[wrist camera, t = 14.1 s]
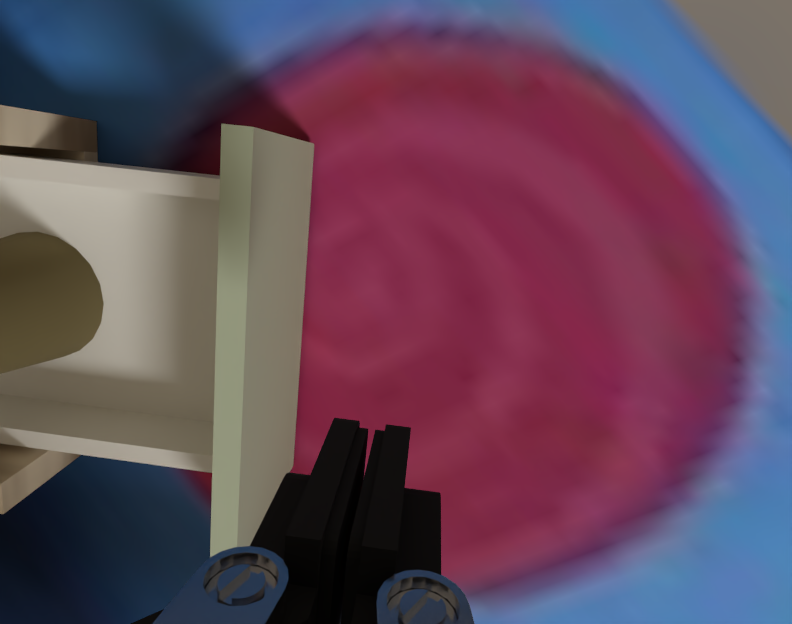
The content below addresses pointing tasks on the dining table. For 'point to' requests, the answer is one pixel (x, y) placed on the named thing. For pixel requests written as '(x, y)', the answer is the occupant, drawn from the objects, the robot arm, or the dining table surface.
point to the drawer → (175, 316)
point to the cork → (44, 300)
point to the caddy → (61, 138)
